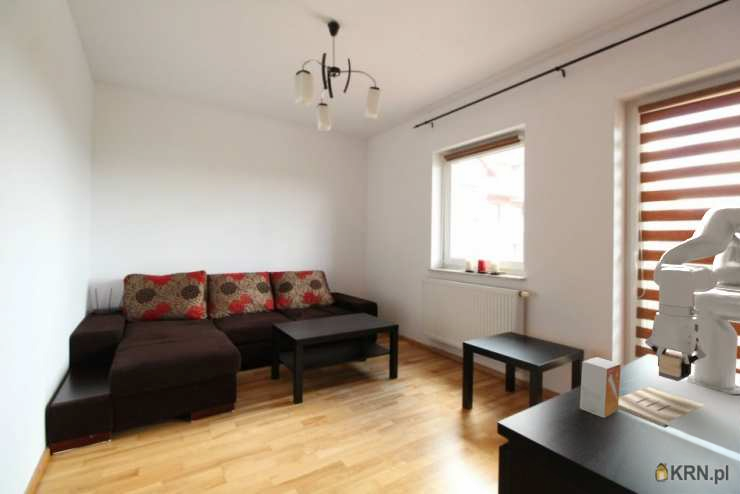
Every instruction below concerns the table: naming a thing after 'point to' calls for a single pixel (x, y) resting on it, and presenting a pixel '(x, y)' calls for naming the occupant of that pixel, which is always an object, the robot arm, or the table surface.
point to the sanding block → (671, 365)
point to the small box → (600, 386)
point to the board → (656, 405)
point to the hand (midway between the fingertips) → (673, 372)
